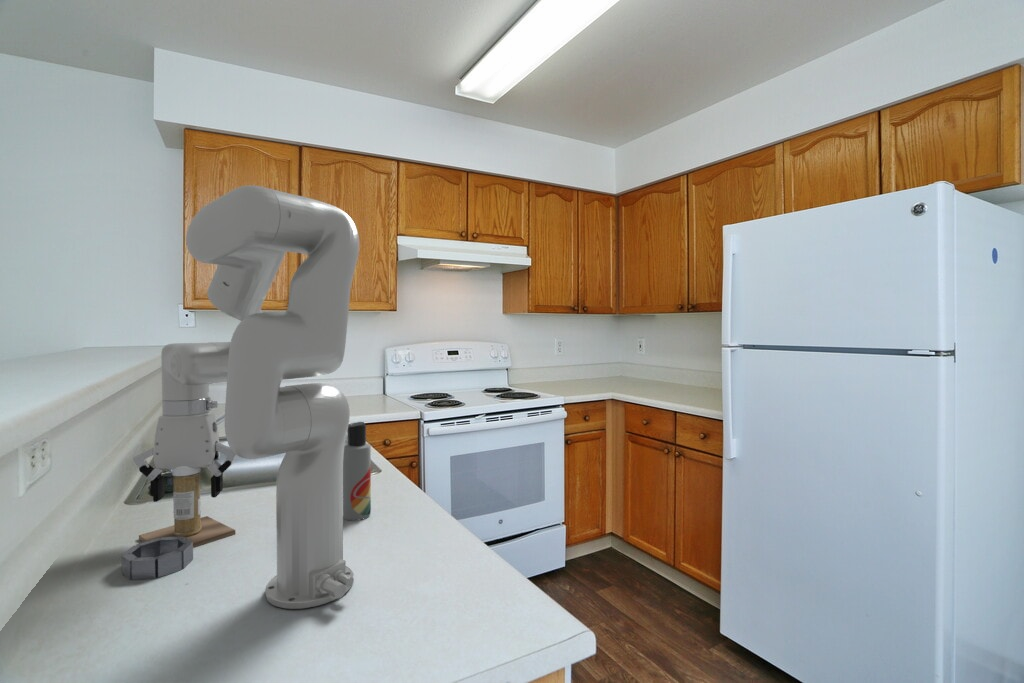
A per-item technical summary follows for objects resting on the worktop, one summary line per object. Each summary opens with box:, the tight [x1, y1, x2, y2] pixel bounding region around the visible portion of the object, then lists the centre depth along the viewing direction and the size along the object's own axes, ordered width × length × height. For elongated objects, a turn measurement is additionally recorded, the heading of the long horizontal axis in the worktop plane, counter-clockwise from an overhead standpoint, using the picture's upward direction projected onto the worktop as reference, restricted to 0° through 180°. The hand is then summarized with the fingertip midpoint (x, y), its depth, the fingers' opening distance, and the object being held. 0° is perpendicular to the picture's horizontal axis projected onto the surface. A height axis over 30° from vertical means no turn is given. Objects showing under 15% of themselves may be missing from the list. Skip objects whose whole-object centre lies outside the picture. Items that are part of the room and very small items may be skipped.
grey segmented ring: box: [121, 536, 194, 581], centre depth 86 cm, size 9×9×3 cm
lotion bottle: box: [343, 421, 372, 521], centre depth 108 cm, size 6×6×20 cm
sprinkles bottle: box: [171, 466, 202, 537], centre depth 97 cm, size 5×5×14 cm
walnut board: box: [138, 516, 236, 548], centre depth 97 cm, size 12×12×1 cm
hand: (187, 497), depth 97 cm, fingers open, 9 cm apart
